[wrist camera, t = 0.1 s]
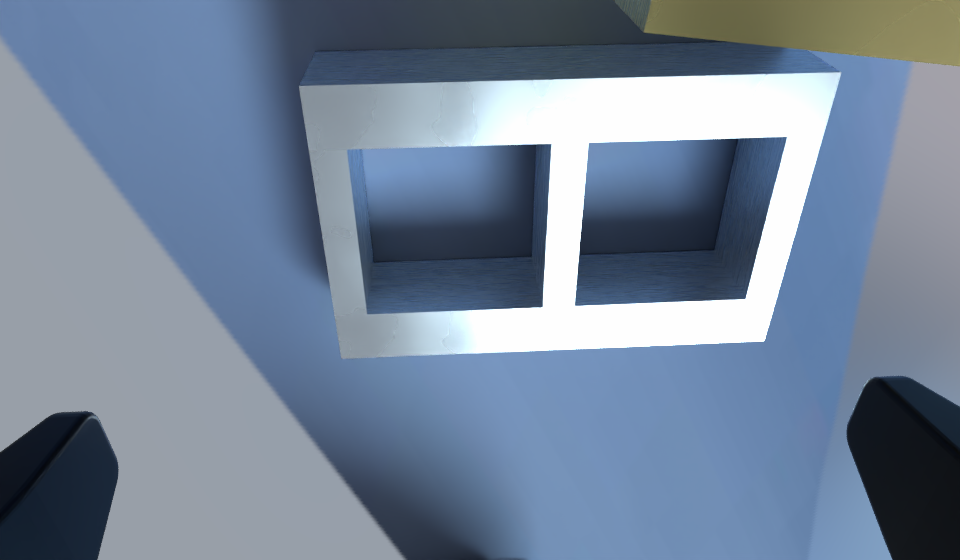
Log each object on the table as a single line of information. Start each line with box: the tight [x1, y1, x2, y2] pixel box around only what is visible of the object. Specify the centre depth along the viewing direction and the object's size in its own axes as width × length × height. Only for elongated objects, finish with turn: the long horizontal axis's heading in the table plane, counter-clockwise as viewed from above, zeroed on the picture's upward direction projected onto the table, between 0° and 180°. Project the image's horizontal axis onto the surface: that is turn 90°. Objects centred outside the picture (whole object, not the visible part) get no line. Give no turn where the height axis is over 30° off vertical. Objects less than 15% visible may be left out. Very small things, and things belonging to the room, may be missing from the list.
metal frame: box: [299, 42, 841, 359], centre depth 22 cm, size 9×14×3 cm, turn 91°
